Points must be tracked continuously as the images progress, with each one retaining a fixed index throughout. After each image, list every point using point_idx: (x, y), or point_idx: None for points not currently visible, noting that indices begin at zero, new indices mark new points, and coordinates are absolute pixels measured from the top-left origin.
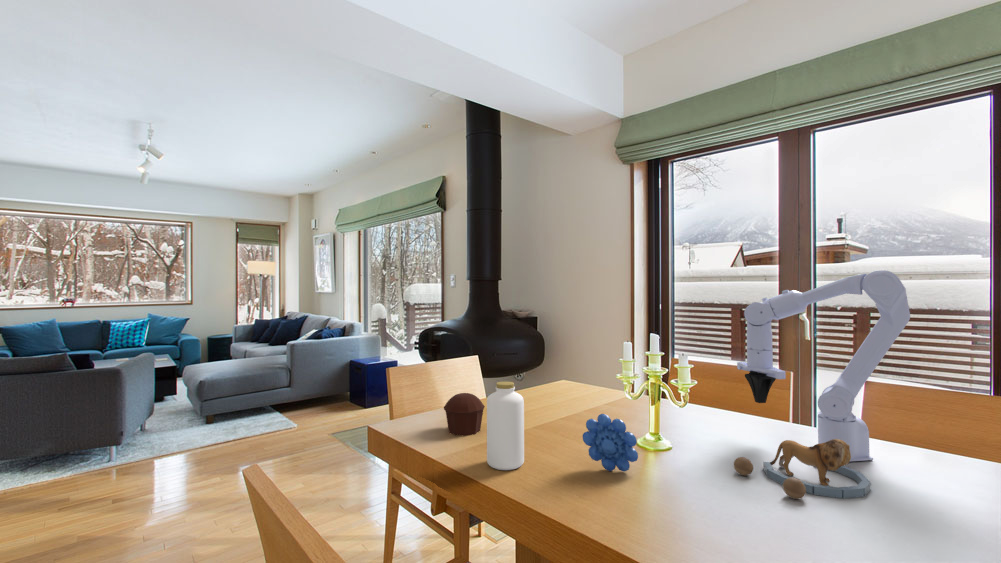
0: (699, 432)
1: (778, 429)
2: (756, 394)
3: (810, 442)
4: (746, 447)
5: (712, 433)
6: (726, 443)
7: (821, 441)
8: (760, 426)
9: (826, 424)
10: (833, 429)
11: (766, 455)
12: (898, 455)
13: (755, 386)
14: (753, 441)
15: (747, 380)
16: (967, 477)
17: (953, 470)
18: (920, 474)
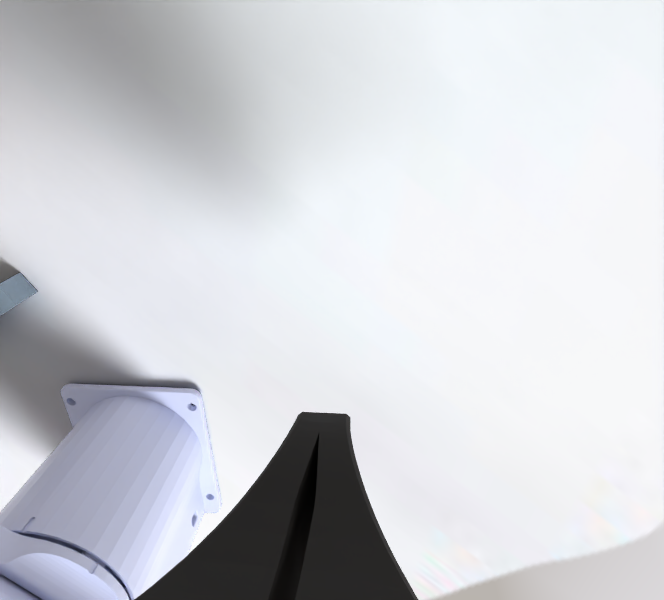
0: (618, 7)
1: (489, 482)
2: (293, 461)
3: None
4: (268, 141)
5: (559, 100)
6: (351, 59)
7: (113, 432)
8: (559, 448)
9: (25, 505)
10: (17, 497)
11: (142, 162)
12: None
13: (262, 534)
14: (356, 253)
15: (408, 597)
16: None
17: None
18: None
